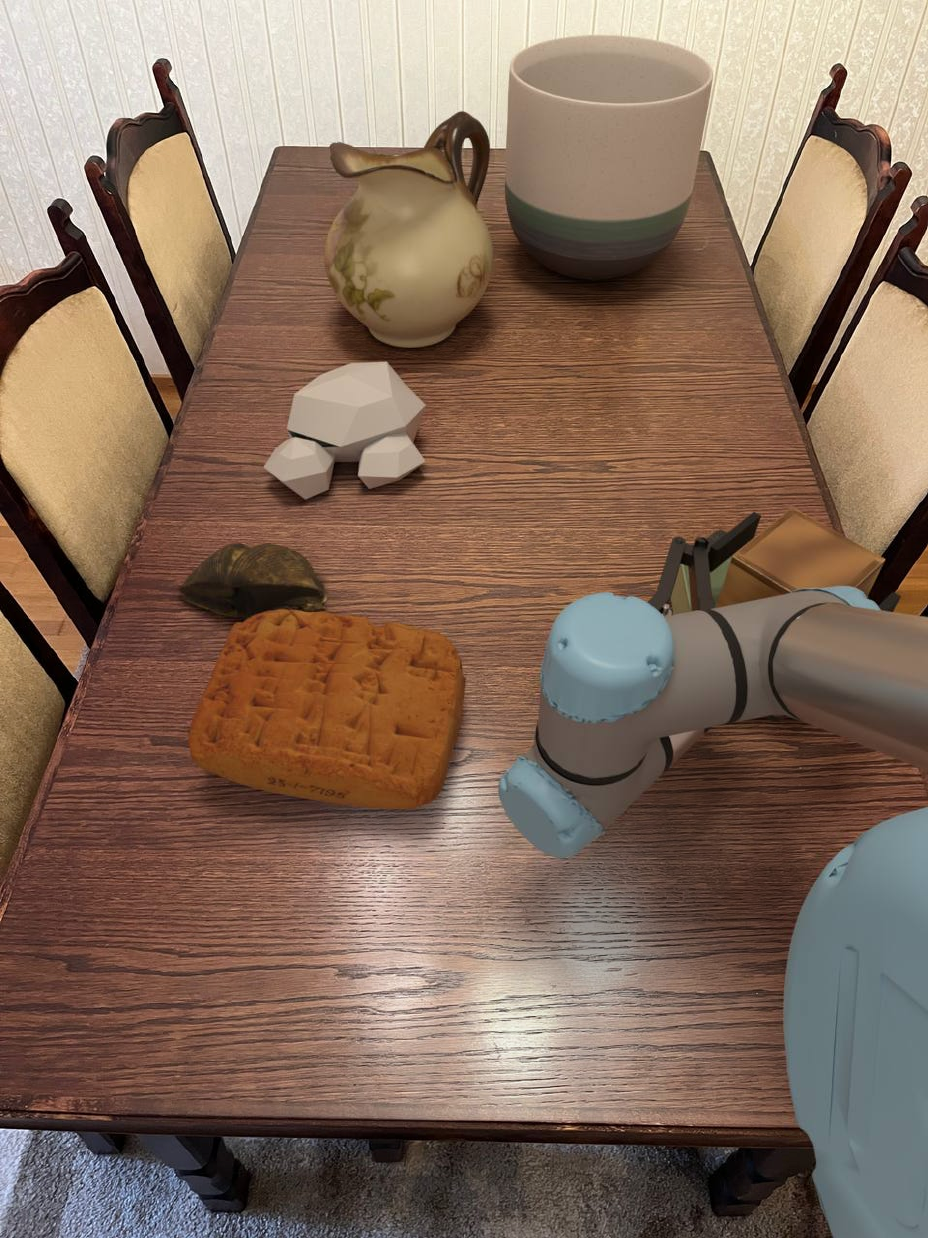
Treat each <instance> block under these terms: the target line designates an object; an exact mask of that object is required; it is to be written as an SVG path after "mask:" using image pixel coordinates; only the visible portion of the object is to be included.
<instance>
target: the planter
mask: <svg viewBox="0 0 928 1238" xmlns="http://www.w3.org/2000/svg"><path fill="white" fill-rule="evenodd" d="M713 80H714V71H713V68H712V66H711V64H709V62H708V61H707V60H705V59H704V58H703V57H702V56H700V55H699V54H697V53H695V52H693V51H691V50H688V49H686V48H684V47H681V46H679V45H675V44H673V43H669V42H665V41H661V40H656V39H651V38H645V37H639V36H630V35H620V34H619V35H616V34H585V35H583V34H582V35H572V36H564V37H557V38H551V39H548V40H544V41H541V42H538V43H535V44H532V45H529V46H527V47H525V48H523V49H521V50H520V51H519V52H517V53H516V54H515V55H514V56H513V57H512V59H511V61H510V64H509V71H508V88H507V117H506V119H507V120H506V122H507V123H506V139H505V140H506V141H505V164H504V165H505V169H504V200H505V205H506V206H505V207H506V212H507V216H508V220H509V224H510V227H511V229H512V231H513V234H514V236H515V237H516V240H517V241H518V243H519V244H520V245H521V247H522V248H523V249H524V250H525V251H526V252H527V253H528V254H529V255H530V256H531V257H532V258H533V259H534V260H535V261H537V262H538V263H540V264H541V265H542V266H543V267H545V268H547V269H550V270H551V271H552V272H555V273H557V274H560V275H563V276H566V277H569V278H573V279H578V280H587V281H603V280H605V281H606V280H612V279H617V278H620V277H624V276H627V275H630V274H632V273H635V272H637V271H639V270H641V269H643V268H644V267H646V266H648V265H650V264H651V263H652V262H655V260H657V259H658V258H660V256H661V255H663V254H664V253H665V252H666V251H667V249H669V247H670V246H671V245H672V244H673V242H674V241H675V239H676V237H677V236H678V234H679V232H680V230H681V228H682V226H683V224H684V222H685V219H686V216H687V214H688V211H689V208H690V204H691V200H692V196H693V190H694V184H695V181H696V175H697V169H698V165H699V159H700V153H701V148H702V142H703V137H704V136H703V135H704V130H705V125H706V120H707V115H708V110H709V105H710V99H711V93H712V86H713Z"/></svg>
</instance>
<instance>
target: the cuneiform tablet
mask: <svg viewBox="0 0 928 1238" xmlns="http://www.w3.org/2000/svg"><path fill="white" fill-rule="evenodd" d="M458 651H459V650H457V647H456V646H455V644H454V643H453V642H452V641H451V640H450V639H449V638H447V637H446V636H445V635H443V634H442V633H441V632H439V631H435V630H428V629H424V628H419V627H415V626H411V625H408V624H407V625H406V624H404V623H400V622H395V621H388V622H385V623H383V624H382V625H375V624H374V623H373V622H372V621H371V620H370V619H369V618H367V617H362V616H357V615H350V614H336V613H331V612H328V611H324V610H323V611H321V610H320V611H317V612H304V611H299V610H286V609H280V610H274V611H266V612H263V613H260V614H256V615H254V616H252V617H251V618H248V619H245V620H244V621H242V622H239V621H237V622H236V623H234V624H233V626H232V628H231V629H230V631H229V632H228V635H227V637H226V640H225V642H224V645H223V648H222V649H221V652H220V653H219V656H218V657H217V661H216V662H215V665H214V667H213V669H212V673H211V675H210V679H209V680H208V682H207V684H206V686H205V690H204V691H203V693H202V695H201V697H200V699H199V702H198V704H197V707H196V709H195V713H194V715H193V717H192V719H191V722H190V725H189V730H188V738H187V746H188V748H189V751H190V757H191V759H192V762H193V763H194V764H195V765H196V766H198V767H199V768H200V769H201V770H203V771H205V772H208V773H210V774H212V775H216V776H218V777H221V778H223V779H225V780H228V781H230V782H232V783H236V784H239V785H241V786H242V785H243V786H246V787H250V788H253V789H257V790H261V791H265V792H269V793H272V794H278V795H283V796H287V797H288V796H289V797H293V798H299V799H303V800H311V801H317V802H323V803H329V804H337V805H344V806H351V807H357V808H358V807H359V808H365V809H373V810H374V809H375V810H415V809H418V808H421V807H425V806H427V805H429V804H430V803H433V802H434V801H435V800H436V799H438V798H439V796H440V794H441V792H442V790H443V788H444V786H445V783H446V780H447V775H448V771H449V768H450V763H451V760H452V756H453V752H454V748H455V745H456V743H457V740H458V737H459V732H460V730H461V725H462V721H463V715H464V714H463V713H464V700H465V699H464V698H465V690H466V677H465V675H464V670H463V661H462V658H461V657H460V655H459V653H458Z"/></svg>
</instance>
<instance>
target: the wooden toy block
mask: <svg viewBox="0 0 928 1238" xmlns="http://www.w3.org/2000/svg"><path fill="white" fill-rule="evenodd" d="M885 562H886V558H884V557H882V556H880V555H879V554H877V553H875V552H874V551H872V550H870V549H868V548H866V547H865V546H863V545H861V544H859V543H858V542H857V541H854V540H853V539H851V538H849V537H847V536H845V535H844V534H841V533H840V532H838V531H836V530H834V529H833V528H831V527H829V526H827V525H826V524H824V523H822V522H821V521H818V520H817V519H815V518H813V517H811V516H809V515H808V514H805V513H804V512H802V511H800V510H799V509H797V508H796V507H794V506H793V507H790V508H789V509H788V510H787V511H786V512H784V513H783V514H782V515H780V516H779V517H778V518H777V519H776V520H774V521H773V522H772V523H771V524H769V525H768V526H767V527H765V529H763V530H762V531H760V533H759V534H757V535H755V536H754V538H753V539H752V540H751V541H749V542H748V543H747V544H746V545H744V546H743V547H742V548H741V549H740V550H738V551H737V552H736V553H735V554H734V555H733V556H732V558H731V561H730V565H729V568H728V571H727V574H726V578H725V581H724V584H723V587H722V590H721V593H720V597H719V600H718V603H717V606H716V608H719V607H724V606H729V605H734V604H739V603H744V602H749V601H754V600H759V599H764V598H769V597H774V596H779V595H784V594H788V593H791V592H793V591H794V590H798V589H803V588H826V587H834V586H850V587H854V588H857V589H859V590H861V591H862V592H864V594H865V595H866V598H867V599H868V596H869V594H870V592H871V591H872V588H873V586H874V584H875V583H876V580H877V578H878V576H879V574H880V571H881V570H882V568H883V566H884V564H885Z"/></svg>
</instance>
